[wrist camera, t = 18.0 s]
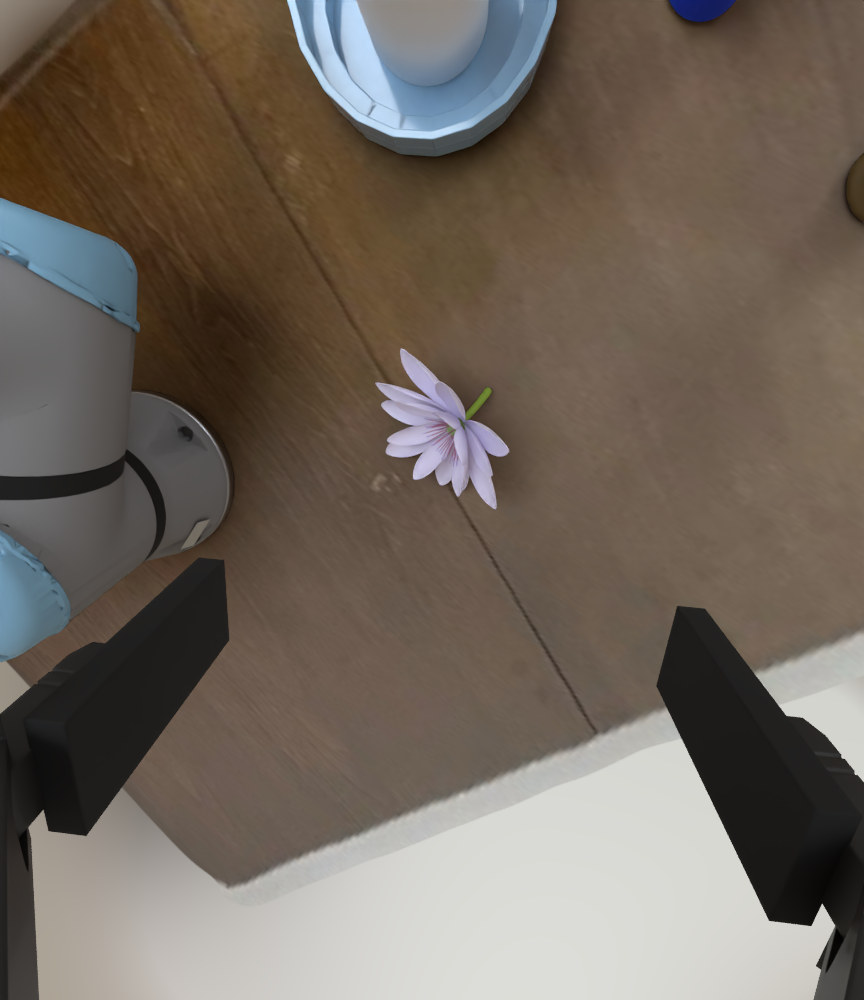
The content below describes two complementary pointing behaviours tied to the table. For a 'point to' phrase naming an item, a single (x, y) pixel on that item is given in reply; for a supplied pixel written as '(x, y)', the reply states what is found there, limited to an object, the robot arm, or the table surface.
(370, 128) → the bowl
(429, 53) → the cup
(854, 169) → the kendama
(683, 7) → the beverage can
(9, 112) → the table surface
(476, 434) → the water lily
